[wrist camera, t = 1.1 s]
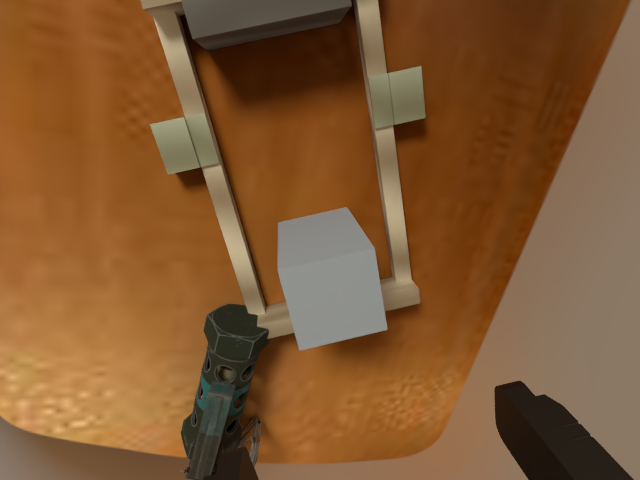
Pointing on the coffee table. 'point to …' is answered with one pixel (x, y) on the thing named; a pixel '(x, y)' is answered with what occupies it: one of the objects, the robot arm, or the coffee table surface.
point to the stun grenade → (223, 390)
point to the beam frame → (201, 145)
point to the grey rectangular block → (329, 278)
